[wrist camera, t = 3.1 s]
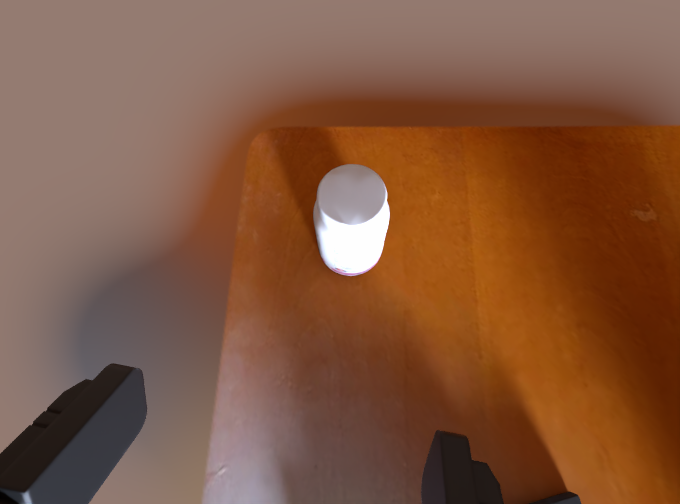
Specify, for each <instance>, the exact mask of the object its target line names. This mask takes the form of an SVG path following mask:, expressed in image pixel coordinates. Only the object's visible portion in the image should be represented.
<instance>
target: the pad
mask: <svg viewBox="0 0 680 504" xmlns="http://www.w3.org/2000/svg"><path fill="white" fill-rule="evenodd" d="M529 504H581V501H580V499H579V496H578V495H577V494H574V493H572V492H566V493H563V494H559V495H556V496H553V497H549V498H546V499H543V500H539V501H536V502H533V503H529Z"/></svg>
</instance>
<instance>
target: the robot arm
mask: <svg viewBox="0 0 680 504" xmlns="http://www.w3.org/2000/svg"><path fill="white" fill-rule="evenodd" d="M146 414H147V405H146V396H145V388H144V379H143V373H142V370H140V369H139V368H134V367H129V366H124V365H119V364H110V365H108V366H107V367H105V368H104V369H103V370H102V371H101V373H100V374H99V375H98V376H97V377H96V378H95V379H94V380H87V379H86V380H84V381H82V382H80V383H78V384H77V385H75V386H73V387H72V388H70V389H68V390H66V391H65V392H63V393H62V394H61V395H60V396H59V397H58V398H57V399H56V400H55V401H54V402H53V403H52V404H51V405H50V406H49V407H48V408H47V411H46V412H45V411H44V412H43V413H42V414H41V415H40V416H39V417H38V418H37V419H36V420H35V421H33V424H32V425H29V426H28V427H27V428H26V429H25V430H24V431H23V432H22V433H21V434H20V435H19V436H18V437H17V438H16V439H15V440H14V441H13V442H12V443H11V444H10V445H9V446H8V447H7V448H6V449H5V450H4V451H3V452H2V453H1V454H0V504H88V503H89V502H90V501H91V499H92V498H93V496H94V495H95V493H96V492H97V491H98V490H99V488H100V487H101V485H102V484H103V483H104V481H105V480H106V478H107V477H108V476H109V474H110V473H111V471H112V470H113V468H114V467H115V466H116V464H117V463H118V462H119V460H120V459H121V457H122V456H123V455H124V453H125V452H126V450H127V449H128V448H129V446H130V445H131V443H132V442H133V441H134V439H135V438H136V436H137V435H138V434H139V432H140V430H141V429H142V427H143V424H144V422H145V419H146ZM421 501H422V504H504V502H503V498H502V493H501V489H500V484H499V483H498V481H497V479H496V478H495V476H494V474H493V473H492V471H491V469H490V468H489V466H488V464H487V463H484V462H479V461H474V460H472V458H471V452H470V446H469V441H468V438H467V436H465V435H460V434H455V433H450V432H445V431H440V430H437V431H436V432H435V435H434V438H433V441H432V444H431V447H430V451H429V454H428V457H427V460H426V463H425V467H424V471H423V476H422V486H421Z"/></svg>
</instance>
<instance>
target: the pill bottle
mask: <svg viewBox="0 0 680 504" xmlns="http://www.w3.org/2000/svg"><path fill="white" fill-rule="evenodd" d="M389 215H390V212H389V206H388V202H387V191H386V187H385V184H384V182H383V180H382V179H381V178H380V176H379V175H378V174H377V173H376V172H374V171H373V170H371V169H369V168H368V167H365V166H362V165H356V164H347V165H342V166H339V167H336V168H334V169H332V170H331V171H330V172H328V173H327V174H326V175H325V176H324V177H323V179H322V180H321V182H320V184H319V186H318V190H317V200H316V202H315V205H314V211H313V219H314V225H315V231H316V237H317V242H318V248H319V252H320V255H321V258H322V259H323V261H324V263H325V264H326V265H327V266H328V267H329V268H330V269H331V270H333V271H334V272H336V273H339V274H342V275H347V276H354V275H359V274H362V273H365V272H366V271H368V270H370V269H371V268H372V267H373V266H374V265H375V264H376V263H377V262H378V260H379V258H380V256H381V253H382V249H383V244H384V240H385V235H386V231H387V227H388V223H389Z"/></svg>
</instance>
